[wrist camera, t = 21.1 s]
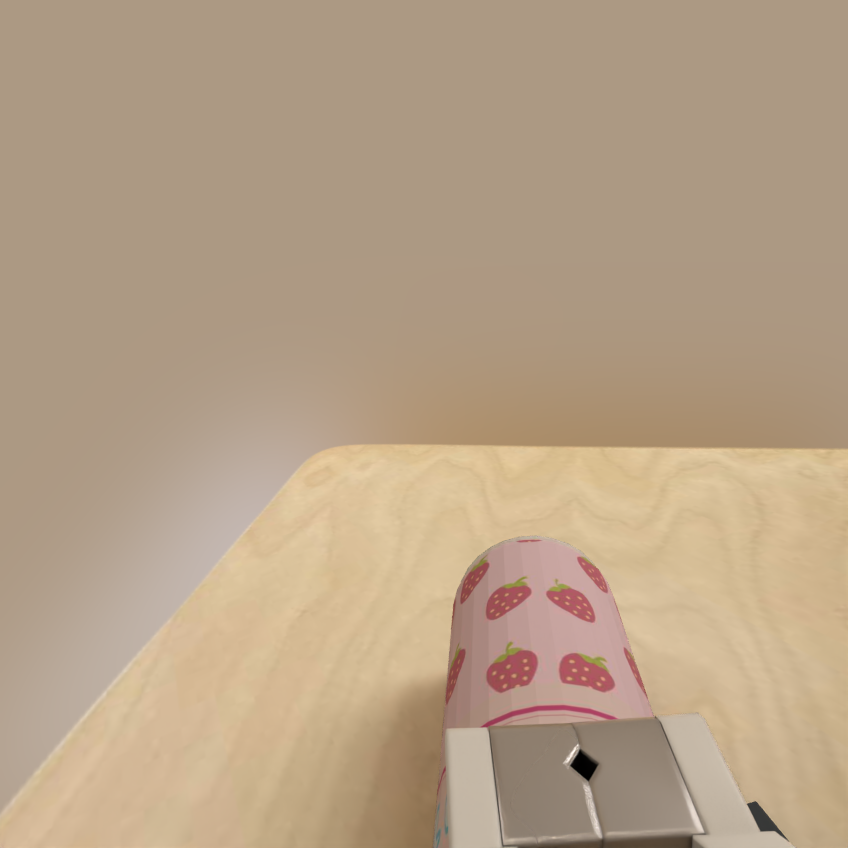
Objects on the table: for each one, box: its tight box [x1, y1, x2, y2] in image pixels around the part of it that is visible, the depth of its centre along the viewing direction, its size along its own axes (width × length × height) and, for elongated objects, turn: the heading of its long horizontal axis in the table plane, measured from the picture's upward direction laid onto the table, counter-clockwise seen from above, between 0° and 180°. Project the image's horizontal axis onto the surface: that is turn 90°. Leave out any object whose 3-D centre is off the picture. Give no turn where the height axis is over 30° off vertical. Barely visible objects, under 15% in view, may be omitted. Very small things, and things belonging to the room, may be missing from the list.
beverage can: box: [433, 536, 654, 848], centre depth 20 cm, size 6×6×15 cm
